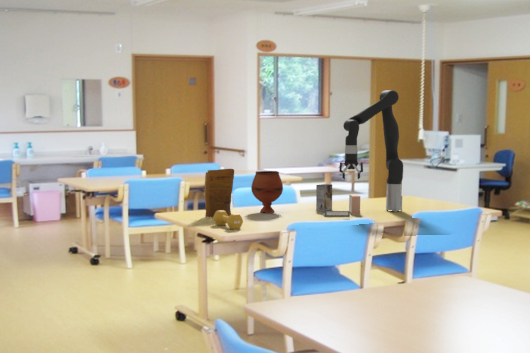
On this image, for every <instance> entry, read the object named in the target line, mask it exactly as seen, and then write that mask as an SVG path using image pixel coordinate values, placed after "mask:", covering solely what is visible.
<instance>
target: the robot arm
mask: <svg viewBox="0 0 530 353" xmlns="http://www.w3.org/2000/svg"><path fill="white" fill-rule="evenodd" d="M399 99H400V97H399V93H398V91H396V90H393V89H390V90H387V89H386V90H382V91H381V93H380V95H379V100H378V101H376V102H375V103H372V104H371V105H369V106H367V107H365V108H363V109H362V110H361V111H360V112H358V113H357V114H355V115H353V116H351V117H349V118H347V119H346V120H345V121H344V122H343V126H342V127H343V129H344V130H345V131H347V132H348V134H347V135H346V136H345V140H344V141H345V145H344V146H345V147H344V162H341V161H340V162H339V172H340V173H342V179H343V180H345V179H346V173H345V172H346V171H347V170H355V171H356V172H357V180H360V178H361V173H363V172H364V165H363V164H364V163H363V162H362V161H359V162H358V136H359V131H360V125H363V124H365V123H366V122H368V121H369V120H371V119H372V118H374V117H375V116H376V115H377V114H379V113H380V112H381V116H382V125H383V126H382V127H383V128H382V129H383V130H382V131H383V136H384V137H383V139H384V146H385V166H386V169H387V170H388V174H387V175H388V176H387V178H386V198H385V211H386V210H392V211H399V210H402V211H403V196H402V186H403V185H402V182H403V179H404V163H403V161H402V160H401V159H400V158H399V154H398V148H399V147H398V146H399V139H400V132H399V125H398V122H397V120H396V117H395V116H394V112H393V105H395V104H397V103H398V100H399ZM358 165H359V167H360V170H359V168H358ZM343 166H345V167H344V169H343ZM399 212H400V211H399Z"/></svg>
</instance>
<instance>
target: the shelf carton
mask: <svg viewBox="0 0 530 353" xmlns="http://www.w3.org/2000/svg"><path fill="white" fill-rule="evenodd" d="M348 200H349V201H348V211H350V215H361V196H360V195H359V194H349V197H348Z"/></svg>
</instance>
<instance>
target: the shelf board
mask: <svg viewBox="0 0 530 353" xmlns="http://www.w3.org/2000/svg"><path fill="white" fill-rule="evenodd" d="M321 215H322V216H323V217H350V215H351V214H350V211H349V210H327V211H321Z"/></svg>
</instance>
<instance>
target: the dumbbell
mask: <svg viewBox="0 0 530 353" xmlns="http://www.w3.org/2000/svg"><path fill="white" fill-rule="evenodd" d="M212 219H213V220H212V221H213V222H214V224H215V225H216V226H218V227H219V226H225V225H227V226H228V228H229V229H230V230H240V229H241V227H242V225H243V222H244V220H243V216H242V215H241V214H239V213H231V215H230V216H228V214H227V213H226V211H224V210H219V211H216V212H215V214H214V216H213V217H212Z"/></svg>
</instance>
